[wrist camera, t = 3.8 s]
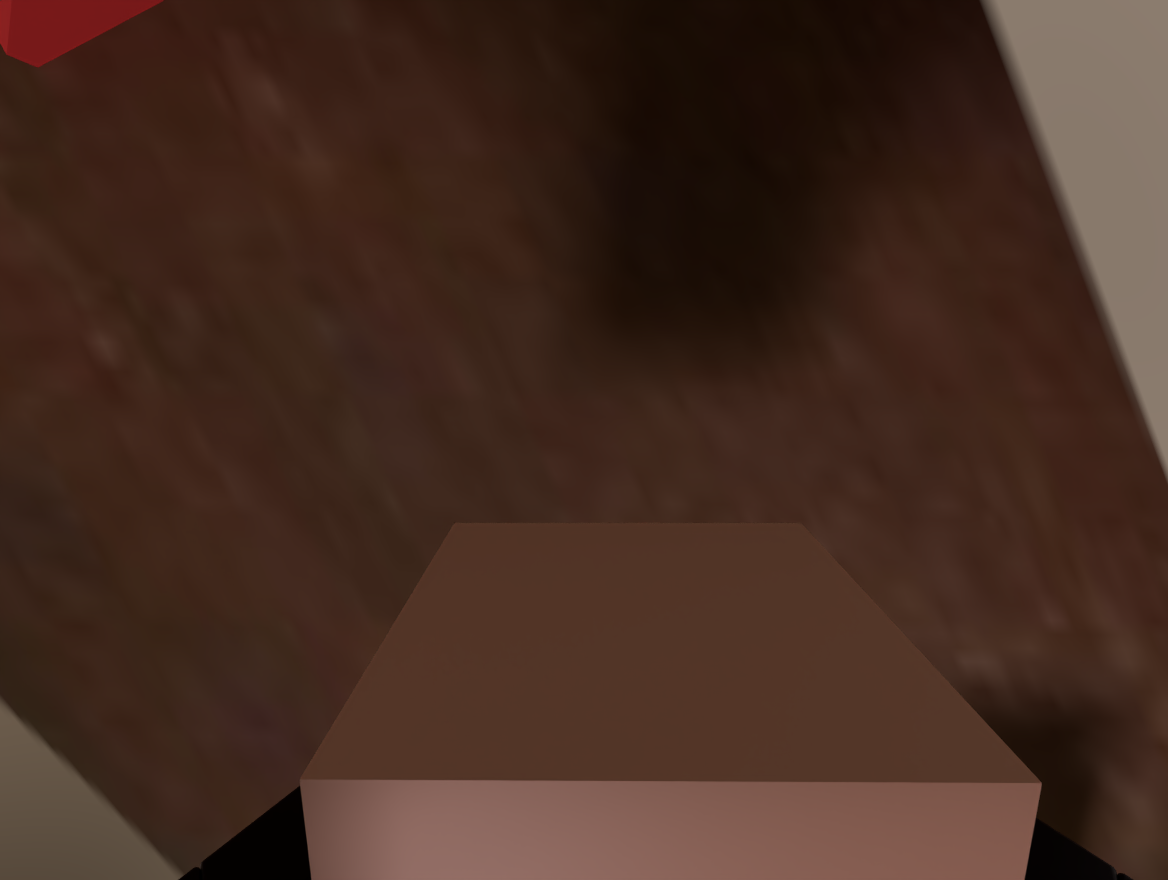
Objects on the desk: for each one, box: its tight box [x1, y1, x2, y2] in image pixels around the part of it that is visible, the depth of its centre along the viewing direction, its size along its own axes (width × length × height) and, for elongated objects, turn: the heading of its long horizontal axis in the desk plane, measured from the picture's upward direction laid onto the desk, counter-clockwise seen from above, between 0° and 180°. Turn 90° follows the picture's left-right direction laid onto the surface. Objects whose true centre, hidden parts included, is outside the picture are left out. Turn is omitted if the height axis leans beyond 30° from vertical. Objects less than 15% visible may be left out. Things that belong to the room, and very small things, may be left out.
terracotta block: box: [300, 523, 1042, 880], centre depth 7 cm, size 5×5×5 cm
